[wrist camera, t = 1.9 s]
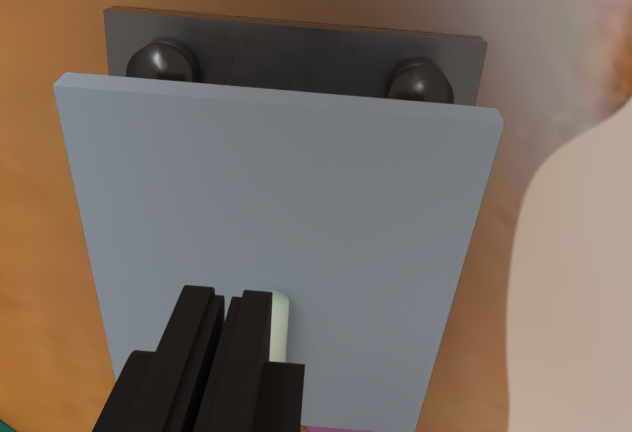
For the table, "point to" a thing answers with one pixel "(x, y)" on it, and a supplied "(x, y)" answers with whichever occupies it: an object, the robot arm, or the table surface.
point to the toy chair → (332, 429)
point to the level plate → (283, 224)
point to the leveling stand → (293, 55)
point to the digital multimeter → (5, 427)
